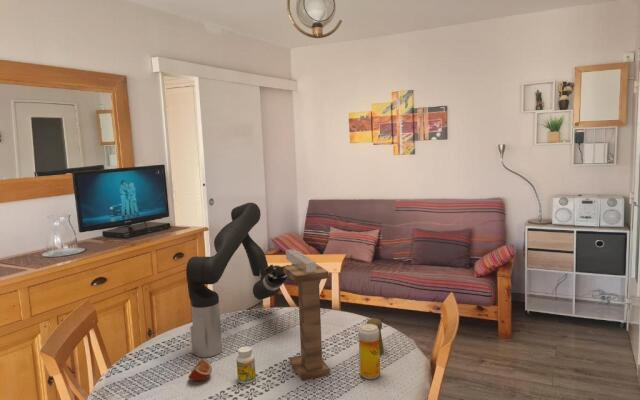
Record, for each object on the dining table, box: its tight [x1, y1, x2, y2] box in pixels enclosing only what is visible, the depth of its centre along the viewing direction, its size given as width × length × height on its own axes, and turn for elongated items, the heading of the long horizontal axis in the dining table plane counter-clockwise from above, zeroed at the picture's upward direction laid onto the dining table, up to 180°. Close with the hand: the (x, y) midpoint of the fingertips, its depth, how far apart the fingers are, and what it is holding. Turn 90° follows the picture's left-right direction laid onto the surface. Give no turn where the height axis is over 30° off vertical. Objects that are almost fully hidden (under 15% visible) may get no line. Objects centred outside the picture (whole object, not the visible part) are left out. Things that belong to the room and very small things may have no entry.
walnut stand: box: [282, 263, 331, 382], centre depth 145 cm, size 13×10×32 cm
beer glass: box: [358, 323, 381, 380], centre depth 140 cm, size 6×6×15 cm
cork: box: [366, 318, 385, 356], centre depth 156 cm, size 6×6×11 cm
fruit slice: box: [188, 357, 213, 382], centre depth 143 cm, size 8×7×5 cm
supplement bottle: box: [235, 346, 257, 385], centre depth 141 cm, size 5×5×10 cm
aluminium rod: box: [285, 248, 317, 274], centre depth 147 cm, size 20×3×3 cm, turn 21°
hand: (284, 265), depth 164 cm, fingers open, 8 cm apart
